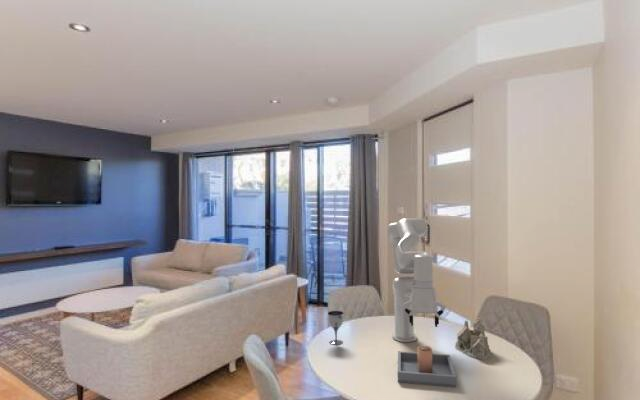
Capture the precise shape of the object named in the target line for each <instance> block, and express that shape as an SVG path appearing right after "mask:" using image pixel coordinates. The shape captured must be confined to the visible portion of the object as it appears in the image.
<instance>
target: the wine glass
mask: <svg viewBox="0 0 640 400" xmlns="http://www.w3.org/2000/svg"><path fill="white" fill-rule="evenodd" d="M327 320H328V323H329V324H328V325H329V326H330V327H331V328H332V329H333V331H334V335H335V337H334V339H331V340H330V341H329V342H328V343H329V344H330V345H332V346H340V345H343V344H344V341H343V340H341V339H338V331H339V329H340V328H341V327H342V325H343V324H344V311H341V310H329V311H328V312H327Z"/></svg>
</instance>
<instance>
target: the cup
mask: <svg viewBox="0 0 640 400" xmlns="http://www.w3.org/2000/svg"><path fill="white" fill-rule="evenodd" d="M416 352H417V366H418V371H419V372H421V373H432V371H433V369H432V354H433V348H432V347H431V346H428V345H419V346H417V348H416Z"/></svg>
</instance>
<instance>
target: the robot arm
mask: <svg viewBox="0 0 640 400" xmlns="http://www.w3.org/2000/svg"><path fill="white" fill-rule="evenodd" d="M386 228H387V229H386V230H387V231H386V233H387V238H388V241H389V243H390V245H391V248H392V260H393V270H394V273H396V274H398V275H413V276H398V277H396V278H395V277H394V279H393V280H392V285H391V286H392V291H393V298H394V299H393V300H394V302H393V303H394V332H393V333H392V334H391V336H392V339H393V340H394V341H397V342H402V343H411V342H414V341H417V339H418V335H417V334H416V333H415V327H414V325H415V324H414V321H415V320H414V313H416V314H417V313H418V314H434V326H435V327H436V328H438V325H440V324H439V323H440V320H439V319H440V316H442V315H443V314H444V312H445V310H446V306H445V305H444V304H443V303H441V302H439V301H438V300H437V293H436V289H435V287H434V281H433V279H434V278H433V274H434V273H433V270H434V269H433V257H432V256H431V254H430V253H429V252H428V251H426V250H425V251H423V250H420V251H419V250H415V251H414V250H413V251H412V249H414V248H416V247H418V246H419V244H420V241H421V239H420V238H421V237H424V236H425V235H426V234H427V232H428V224H427V222H426V220H425V219H423V218H419V217H411V218H402V219H400V220H398V222H397V221H396V222H393V223H392V222H391V223H389V224H388V226H387V227H386ZM410 250H411V251H410ZM409 296H410V298H409ZM438 307H439V308H440V310H438Z"/></svg>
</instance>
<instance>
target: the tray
mask: <svg viewBox="0 0 640 400" xmlns="http://www.w3.org/2000/svg"><path fill="white" fill-rule="evenodd" d="M432 369H433V371H432V373H421V372H419V371H418V366H417V351H415V352H414V351H403V350H402V351H397V383H402V384H403V383H404V384H415V385H426V386H437V387H449V388H457V375H456V374H457V373H456V371H455V369H454V365H453V362H452V358H451V355H450V354H445V353H443V354H442V353H441V354H440V353H432Z"/></svg>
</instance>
